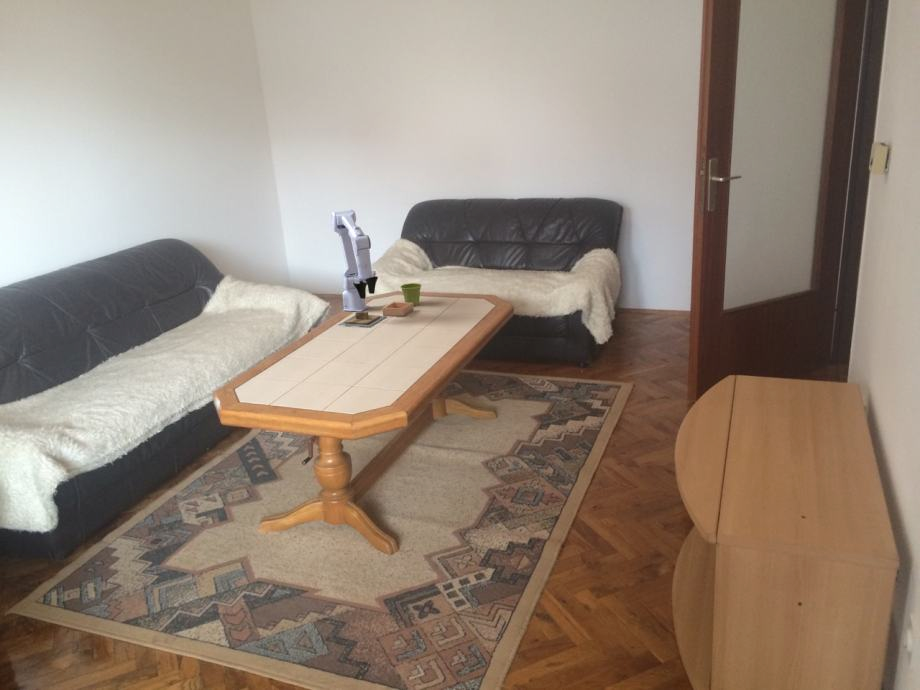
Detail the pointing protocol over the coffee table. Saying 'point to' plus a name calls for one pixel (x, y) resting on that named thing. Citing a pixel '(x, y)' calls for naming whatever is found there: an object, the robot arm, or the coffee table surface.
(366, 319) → the lid
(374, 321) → the mat
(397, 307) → the dish
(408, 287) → the plant pot
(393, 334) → the coffee table surface
